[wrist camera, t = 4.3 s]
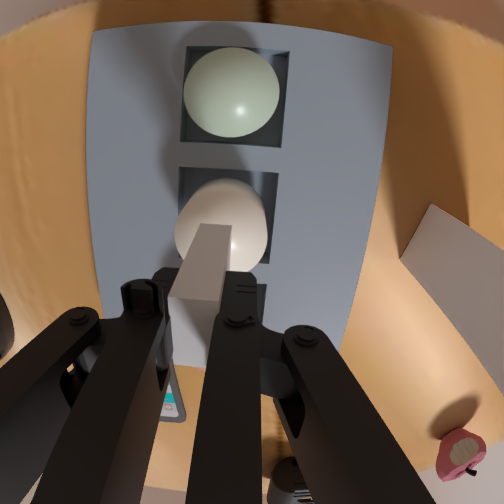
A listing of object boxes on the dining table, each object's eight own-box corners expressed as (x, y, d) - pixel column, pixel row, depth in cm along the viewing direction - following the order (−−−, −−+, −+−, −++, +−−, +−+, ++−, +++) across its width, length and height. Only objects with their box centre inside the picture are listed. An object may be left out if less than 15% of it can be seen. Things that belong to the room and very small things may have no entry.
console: (124, 324, 30) (111, 349, 26) (115, 41, 19) (93, 31, 16) (325, 339, 30) (333, 367, 27) (372, 55, 20) (393, 46, 16)
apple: (476, 410, 38) (499, 453, 29) (469, 434, 41) (487, 473, 32) (427, 434, 40) (446, 482, 30) (424, 455, 43) (439, 497, 34)
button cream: (187, 248, 22) (175, 275, 19) (188, 175, 20) (174, 188, 17) (261, 253, 23) (263, 281, 19) (268, 180, 20) (271, 195, 17)
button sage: (193, 132, 20) (180, 135, 17) (198, 58, 18) (187, 46, 15) (271, 136, 21) (275, 140, 17) (277, 62, 18) (283, 51, 15)
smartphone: (126, 418, 36) (89, 330, 29) (128, 412, 37) (92, 324, 30) (189, 424, 36) (166, 334, 29) (190, 418, 36) (168, 328, 30)
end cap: (270, 455, 40) (272, 493, 34) (318, 453, 40) (324, 490, 34) (266, 481, 44) (266, 514, 38) (307, 479, 44) (311, 512, 38)
